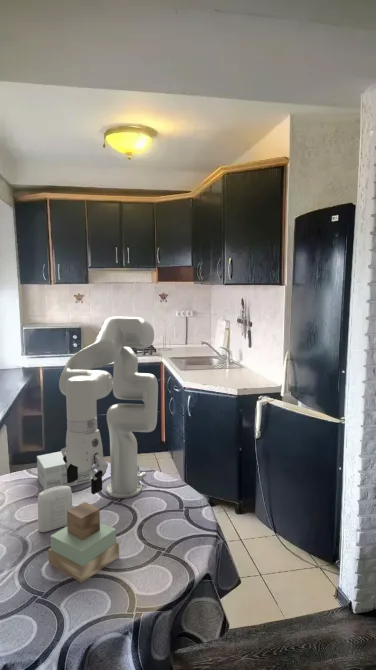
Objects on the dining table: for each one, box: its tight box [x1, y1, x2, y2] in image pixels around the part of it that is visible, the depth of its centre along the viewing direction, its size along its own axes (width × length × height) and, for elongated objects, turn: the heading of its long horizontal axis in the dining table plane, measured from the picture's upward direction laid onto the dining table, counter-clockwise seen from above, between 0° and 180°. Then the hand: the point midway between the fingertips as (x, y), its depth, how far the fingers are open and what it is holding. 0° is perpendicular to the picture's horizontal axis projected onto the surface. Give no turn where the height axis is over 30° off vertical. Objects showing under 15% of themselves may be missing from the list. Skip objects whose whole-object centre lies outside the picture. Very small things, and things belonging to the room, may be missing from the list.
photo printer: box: [37, 486, 73, 533], centre depth 131 cm, size 10×4×12 cm, turn 123°
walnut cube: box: [67, 501, 101, 540], centre depth 115 cm, size 6×6×6 cm
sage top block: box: [49, 521, 117, 567], centre depth 115 cm, size 12×12×4 cm
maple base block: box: [48, 541, 120, 584], centre depth 116 cm, size 13×13×4 cm
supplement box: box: [36, 450, 92, 491], centre depth 162 cm, size 17×13×9 cm
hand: (84, 486), depth 114 cm, fingers open, 9 cm apart
